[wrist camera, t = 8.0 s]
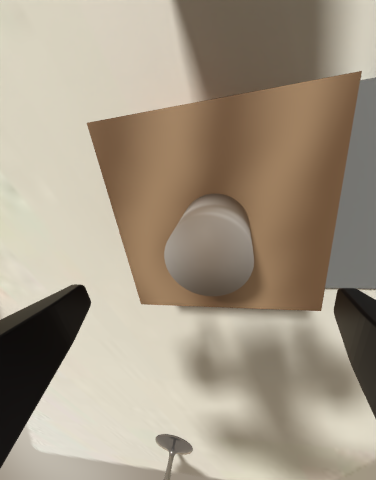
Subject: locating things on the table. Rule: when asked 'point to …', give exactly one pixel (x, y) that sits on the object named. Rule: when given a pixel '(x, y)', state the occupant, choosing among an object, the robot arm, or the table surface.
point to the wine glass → (173, 449)
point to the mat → (357, 202)
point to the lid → (231, 194)
